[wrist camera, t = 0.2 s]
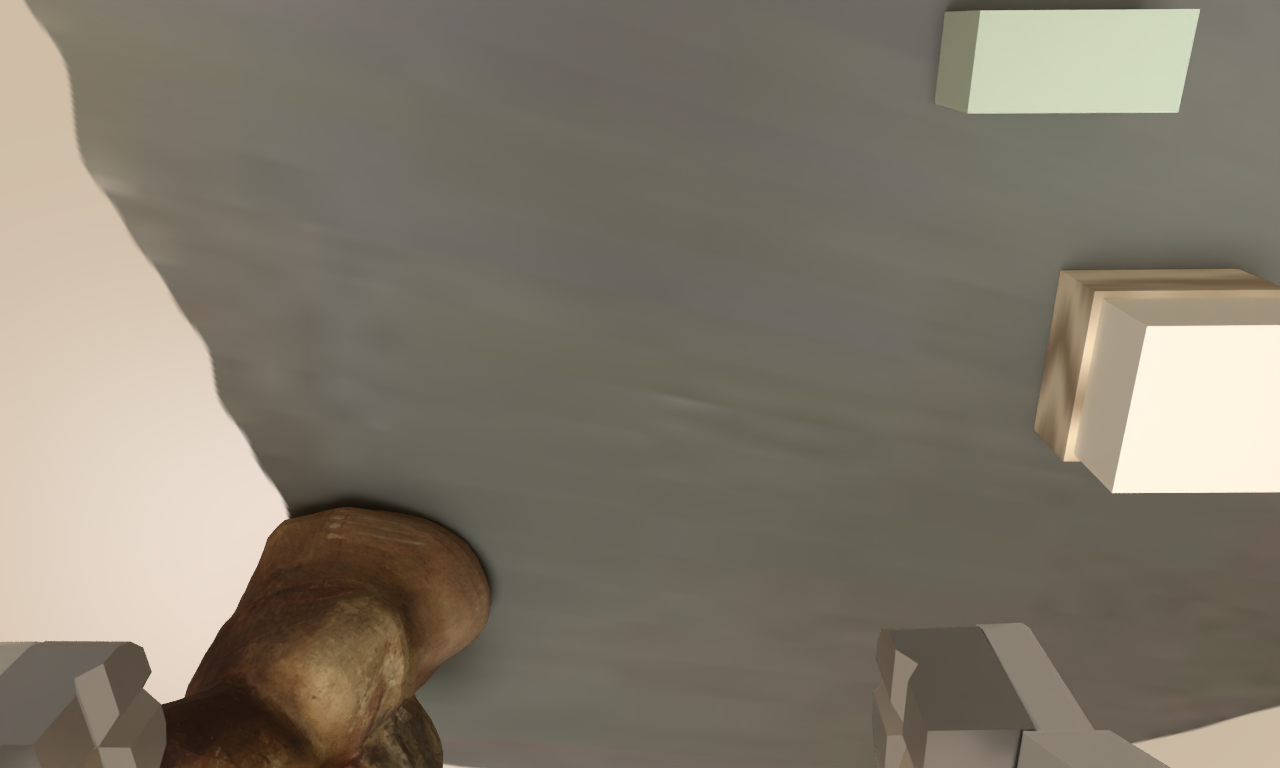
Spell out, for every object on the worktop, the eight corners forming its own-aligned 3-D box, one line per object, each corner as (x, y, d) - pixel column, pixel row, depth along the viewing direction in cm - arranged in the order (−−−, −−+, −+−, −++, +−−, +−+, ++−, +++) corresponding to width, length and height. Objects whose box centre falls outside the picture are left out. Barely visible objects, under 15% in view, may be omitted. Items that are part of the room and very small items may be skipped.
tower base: (1058, 269, 56) (1094, 291, 52) (1235, 267, 56) (1287, 289, 51) (1032, 427, 60) (1063, 461, 56) (1196, 426, 60) (1241, 460, 56)
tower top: (1102, 299, 52) (1146, 326, 47) (1277, 297, 52) (1338, 324, 47) (1073, 453, 56) (1112, 493, 51) (1236, 452, 55) (1289, 492, 51)
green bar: (944, 11, 51) (980, 10, 45) (1139, 10, 50) (1200, 9, 45) (933, 103, 52) (967, 113, 47) (1122, 102, 52) (1178, 112, 47)
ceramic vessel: (408, 708, 70) (246, 1163, 42) (166, 545, 64) (-204, 942, 37) (538, 584, 65) (453, 1001, 37) (289, 397, 60) (-26, 721, 32)
